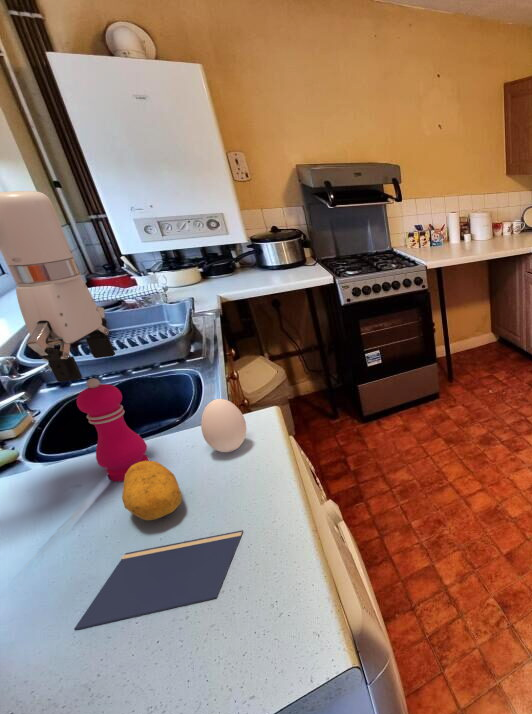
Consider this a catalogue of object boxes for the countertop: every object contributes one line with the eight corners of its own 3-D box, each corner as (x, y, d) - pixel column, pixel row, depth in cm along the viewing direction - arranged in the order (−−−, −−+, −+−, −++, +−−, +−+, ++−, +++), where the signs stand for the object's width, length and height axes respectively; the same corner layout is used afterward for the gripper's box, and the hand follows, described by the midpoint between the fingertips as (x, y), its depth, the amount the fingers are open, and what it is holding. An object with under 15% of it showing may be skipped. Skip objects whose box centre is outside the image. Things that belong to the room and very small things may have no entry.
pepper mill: (160, 467, 85) (124, 375, 78) (114, 488, 80) (70, 392, 72) (144, 455, 89) (109, 366, 82) (99, 475, 83) (57, 382, 76)
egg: (207, 465, 85) (189, 413, 81) (213, 444, 92) (197, 396, 87) (250, 454, 88) (235, 404, 84) (253, 435, 95) (239, 387, 90)
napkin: (74, 630, 55) (73, 628, 55) (126, 554, 66) (125, 552, 66) (216, 598, 59) (216, 596, 59) (243, 531, 70) (242, 529, 69)
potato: (136, 543, 68) (120, 508, 65) (126, 498, 77) (111, 465, 75) (191, 518, 72) (178, 484, 70) (175, 478, 82) (163, 447, 79)
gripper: (55, 263, 77) (93, 351, 83) (-29, 288, 61) (25, 394, 68) (105, 259, 79) (138, 346, 85) (35, 283, 63) (83, 387, 69)
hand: (88, 367), depth 76 cm, fingers open, 9 cm apart
